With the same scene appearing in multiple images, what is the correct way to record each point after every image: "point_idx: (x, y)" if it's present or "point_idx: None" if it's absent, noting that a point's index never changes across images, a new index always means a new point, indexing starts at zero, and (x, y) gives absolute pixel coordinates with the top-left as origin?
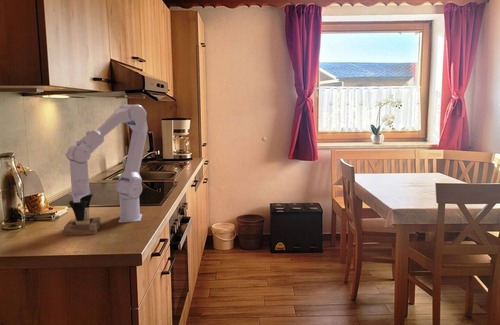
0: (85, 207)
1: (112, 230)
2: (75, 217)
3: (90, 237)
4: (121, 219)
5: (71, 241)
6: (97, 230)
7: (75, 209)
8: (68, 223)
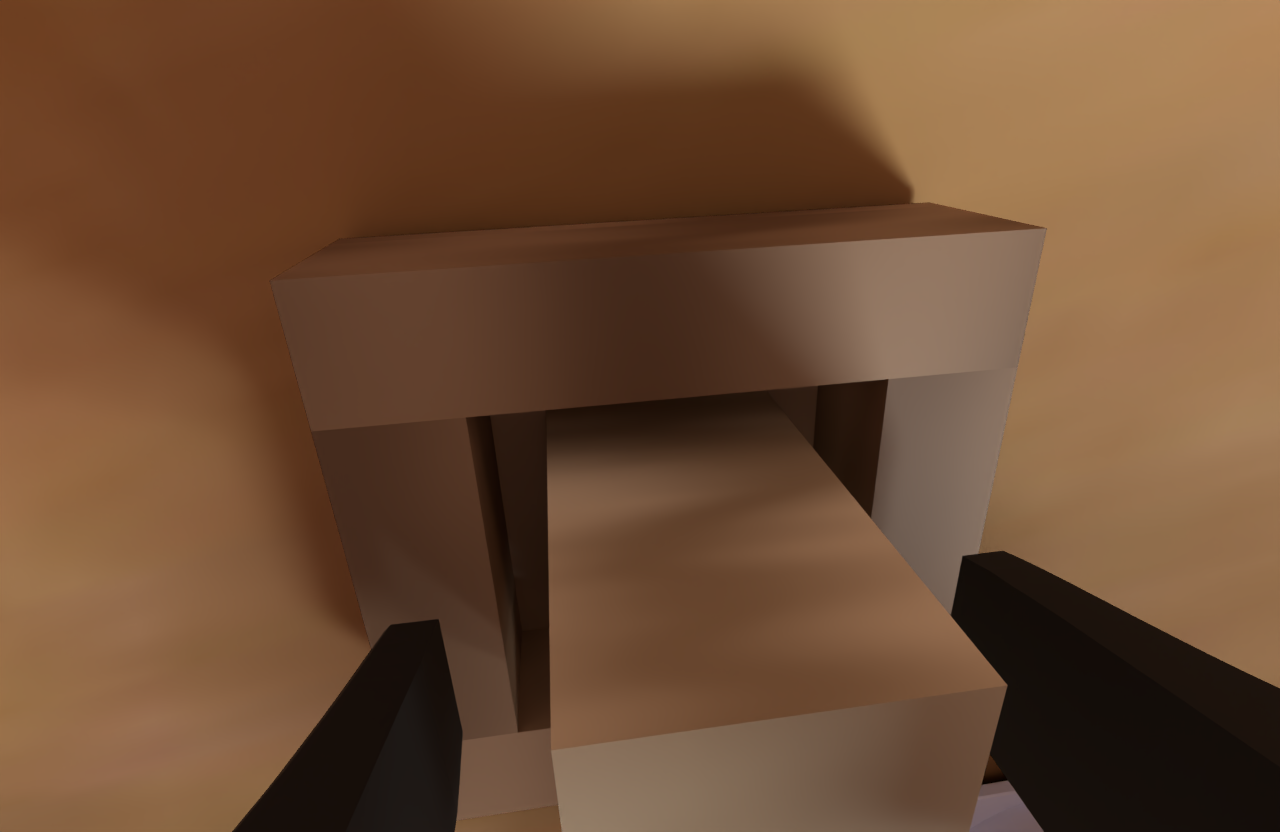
0: (1094, 809)
1: None
2: (550, 585)
3: (288, 667)
4: (995, 819)
5: (32, 462)
6: None
7: None
8: (611, 292)
